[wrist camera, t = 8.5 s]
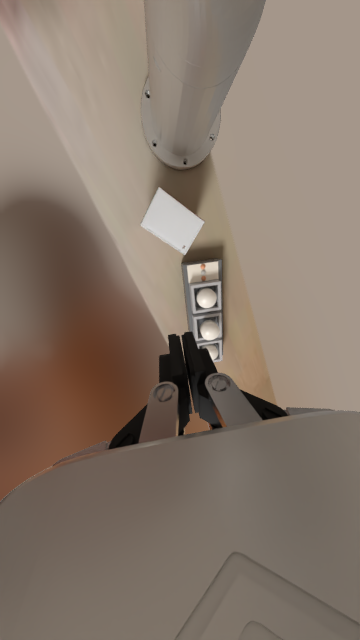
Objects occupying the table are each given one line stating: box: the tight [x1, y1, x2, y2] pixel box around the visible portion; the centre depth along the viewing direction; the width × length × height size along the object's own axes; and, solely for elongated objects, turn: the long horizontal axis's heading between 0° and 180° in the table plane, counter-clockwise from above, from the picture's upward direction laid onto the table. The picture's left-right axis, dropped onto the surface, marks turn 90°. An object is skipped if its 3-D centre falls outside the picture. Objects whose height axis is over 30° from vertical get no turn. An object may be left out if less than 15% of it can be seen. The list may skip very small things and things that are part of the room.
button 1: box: [201, 344, 218, 360], centre depth 43 cm, size 4×4×2 cm
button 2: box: [196, 287, 217, 308], centre depth 37 cm, size 4×4×2 cm
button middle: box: [200, 320, 220, 340], centre depth 38 cm, size 4×4×2 cm
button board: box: [181, 258, 223, 362], centre depth 41 cm, size 24×8×5 cm, turn 7°
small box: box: [140, 187, 205, 255], centre depth 30 cm, size 8×6×10 cm
